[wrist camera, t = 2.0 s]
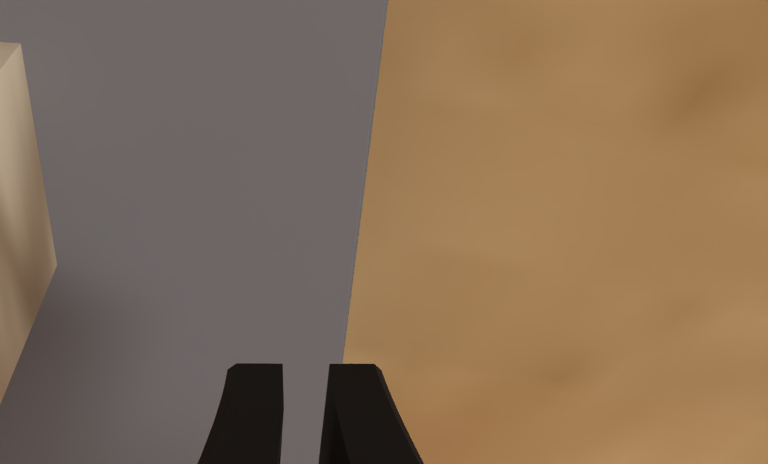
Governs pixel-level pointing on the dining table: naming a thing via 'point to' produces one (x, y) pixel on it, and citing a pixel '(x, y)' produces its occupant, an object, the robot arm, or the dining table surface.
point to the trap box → (189, 216)
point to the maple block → (20, 215)
